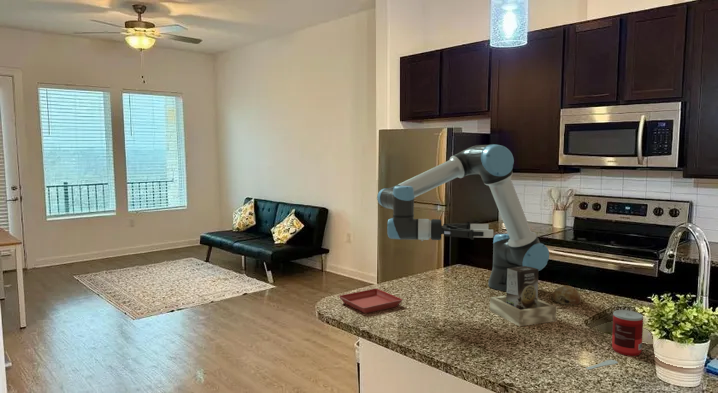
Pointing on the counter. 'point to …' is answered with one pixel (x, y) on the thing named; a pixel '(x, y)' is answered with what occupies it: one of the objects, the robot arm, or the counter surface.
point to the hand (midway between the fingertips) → (490, 230)
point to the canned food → (627, 332)
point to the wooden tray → (523, 312)
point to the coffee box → (522, 287)
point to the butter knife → (603, 364)
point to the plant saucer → (370, 300)
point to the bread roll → (566, 295)
